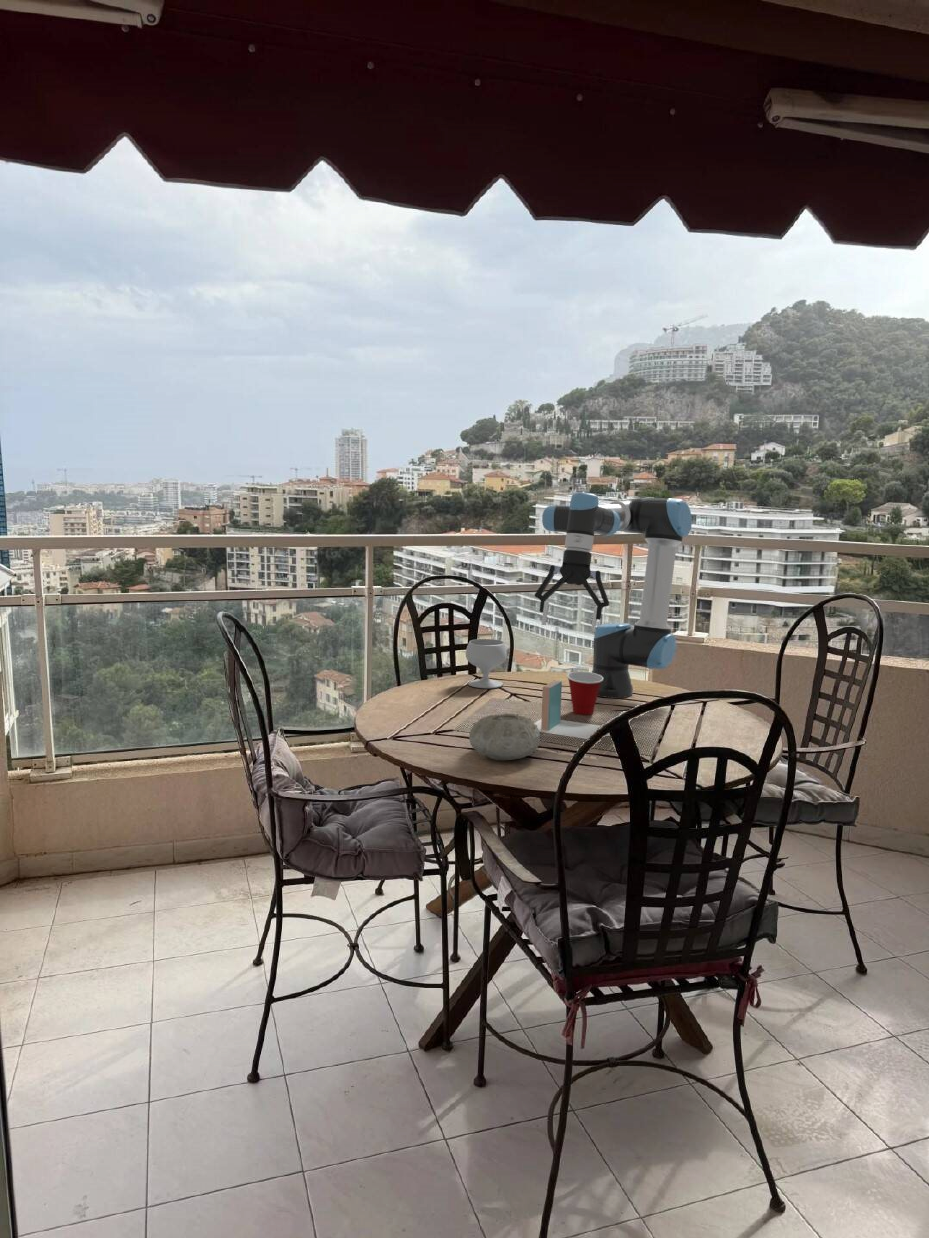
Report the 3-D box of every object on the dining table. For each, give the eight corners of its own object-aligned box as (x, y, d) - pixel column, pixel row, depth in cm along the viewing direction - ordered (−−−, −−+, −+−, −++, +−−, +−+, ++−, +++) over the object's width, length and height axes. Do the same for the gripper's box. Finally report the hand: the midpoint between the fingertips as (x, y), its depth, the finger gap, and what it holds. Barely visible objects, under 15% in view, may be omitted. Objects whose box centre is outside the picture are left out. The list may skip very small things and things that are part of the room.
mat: (524, 731, 226) (525, 729, 225) (542, 719, 238) (542, 717, 238) (594, 742, 217) (594, 740, 217) (609, 728, 229) (609, 726, 229)
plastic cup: (576, 720, 237) (578, 680, 235) (558, 711, 247) (560, 672, 245) (608, 717, 241) (610, 678, 239) (590, 708, 251) (591, 670, 249)
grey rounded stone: (455, 756, 203) (455, 718, 201) (492, 739, 218) (493, 703, 216) (517, 771, 193) (518, 730, 192) (552, 752, 208) (553, 714, 206)
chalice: (506, 690, 271) (507, 646, 269) (464, 689, 272) (465, 645, 269) (505, 680, 285) (506, 638, 283) (465, 679, 286) (466, 637, 283)
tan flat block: (541, 728, 226) (542, 686, 224) (552, 721, 234) (553, 680, 232) (549, 730, 225) (550, 687, 223) (560, 722, 233) (561, 681, 231)
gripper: (530, 544, 221) (520, 622, 222) (623, 554, 215) (612, 634, 215) (535, 547, 228) (526, 622, 229) (625, 556, 222) (615, 633, 222)
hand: (568, 628), depth 222 cm, fingers open, 13 cm apart
